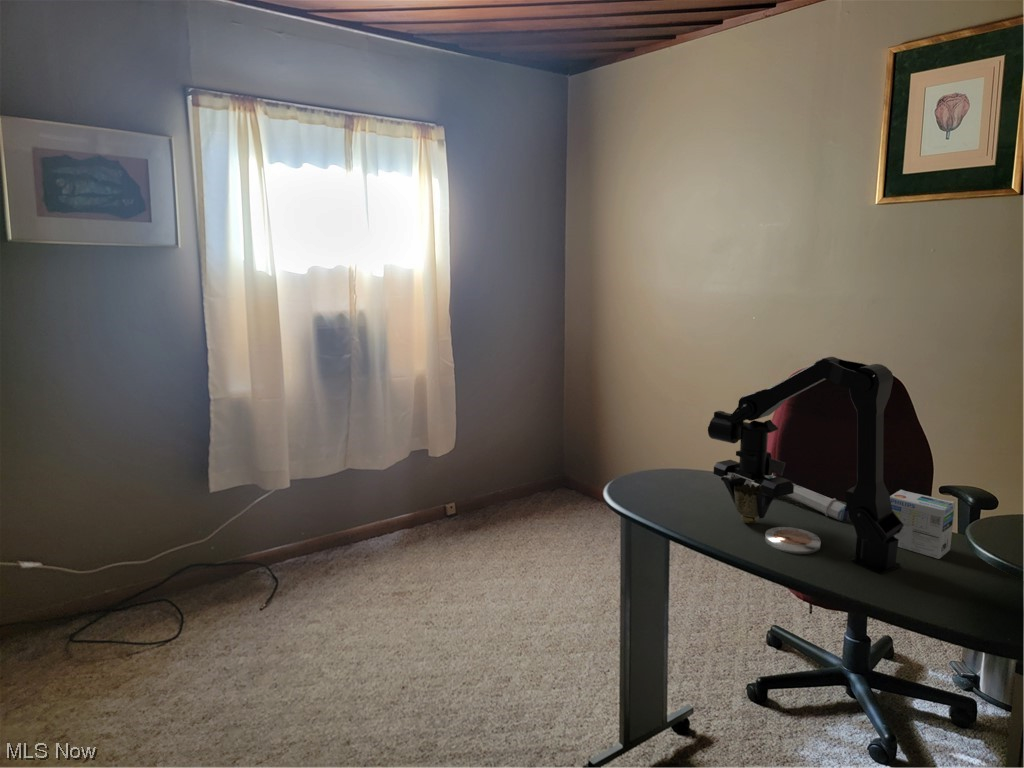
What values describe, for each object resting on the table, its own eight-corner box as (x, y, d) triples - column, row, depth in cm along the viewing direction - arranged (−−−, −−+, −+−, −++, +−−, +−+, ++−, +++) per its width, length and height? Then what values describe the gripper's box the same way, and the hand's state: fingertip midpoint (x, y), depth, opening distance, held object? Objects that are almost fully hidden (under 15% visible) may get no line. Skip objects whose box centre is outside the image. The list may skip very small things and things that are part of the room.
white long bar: (840, 508, 152) (750, 465, 171) (834, 534, 154) (745, 489, 173) (853, 503, 154) (762, 462, 174) (847, 528, 156) (758, 485, 176)
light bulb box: (950, 550, 138) (957, 501, 136) (940, 560, 134) (946, 510, 132) (895, 534, 146) (900, 488, 144) (883, 543, 142) (888, 495, 140)
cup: (728, 515, 157) (730, 482, 155) (760, 515, 156) (762, 482, 155) (737, 527, 149) (739, 494, 148) (771, 527, 149) (773, 494, 148)
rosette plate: (831, 546, 140) (832, 541, 140) (795, 558, 135) (796, 552, 135) (789, 528, 150) (789, 522, 150) (753, 538, 145) (754, 532, 145)
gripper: (813, 452, 145) (808, 520, 148) (747, 433, 161) (744, 494, 164) (777, 460, 140) (773, 530, 143) (713, 439, 156) (710, 502, 159)
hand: (749, 513), depth 153 cm, fingers closed on cup, 6 cm apart
